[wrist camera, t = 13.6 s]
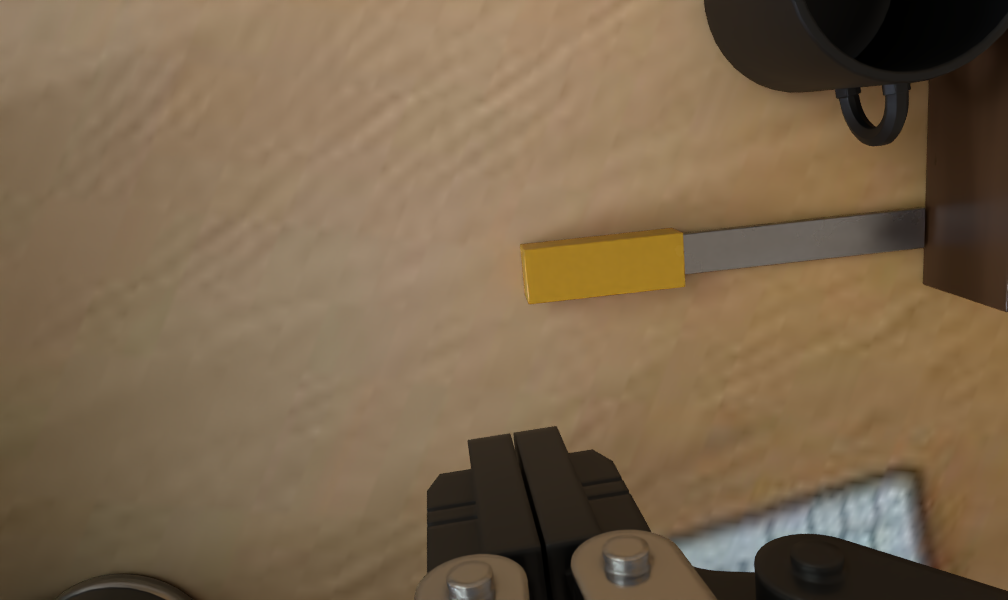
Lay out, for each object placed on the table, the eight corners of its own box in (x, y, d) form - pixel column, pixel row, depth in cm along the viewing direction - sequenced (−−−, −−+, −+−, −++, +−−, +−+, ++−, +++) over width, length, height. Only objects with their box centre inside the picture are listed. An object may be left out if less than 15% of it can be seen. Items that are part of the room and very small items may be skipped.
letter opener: (524, 296, 38) (528, 304, 36) (519, 244, 37) (523, 249, 35) (918, 252, 38) (940, 258, 37) (919, 200, 38) (943, 204, 36)
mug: (729, 168, 37) (818, 182, 28) (682, -97, 34) (765, -174, 25) (917, 118, 37) (1064, 117, 28) (885, -149, 34) (1038, -244, 25)
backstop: (922, 284, 39) (1006, 312, 33) (935, -150, 34) (1035, -206, 28) (969, 279, 39) (1061, 306, 33) (988, -154, 34) (1099, -211, 29)
